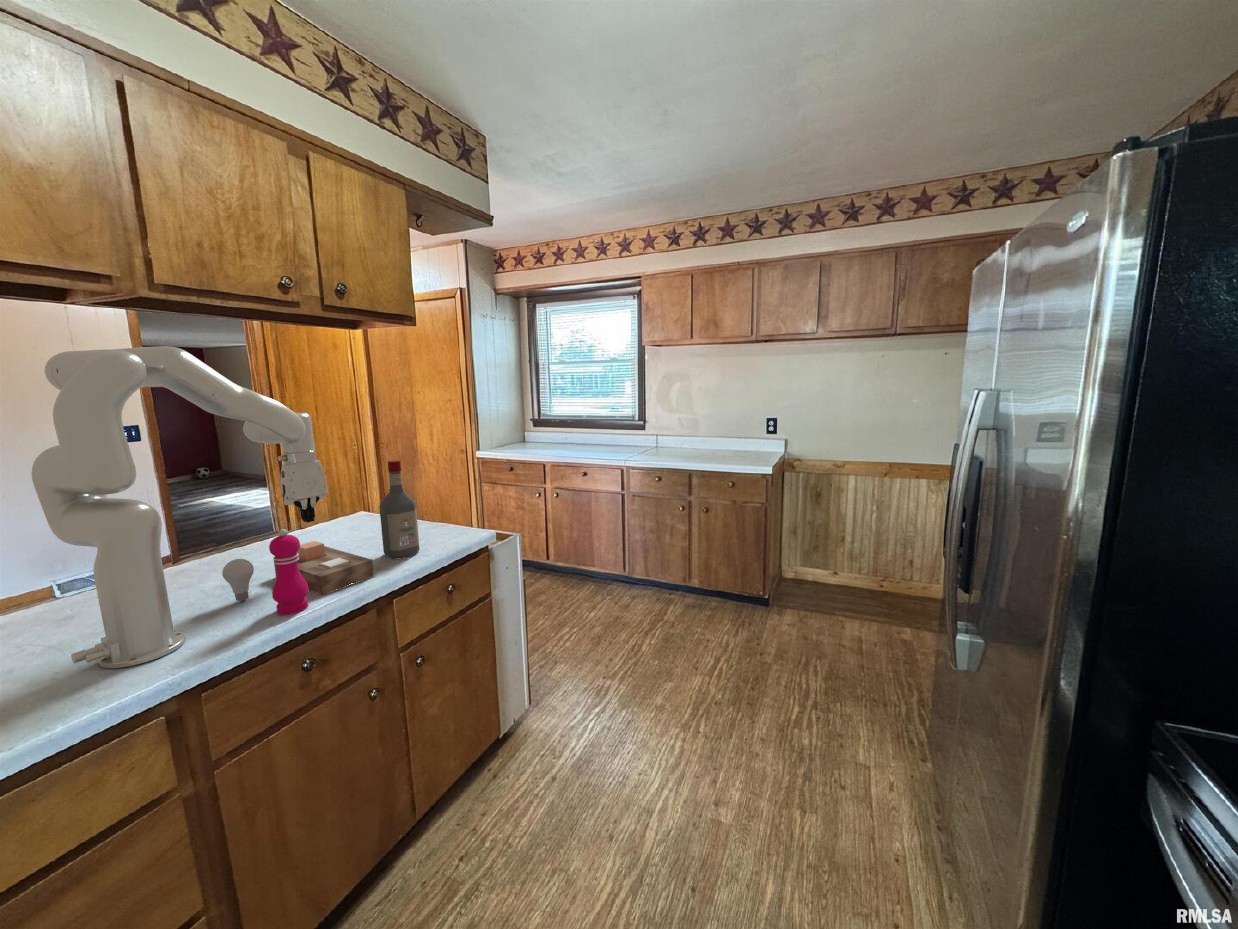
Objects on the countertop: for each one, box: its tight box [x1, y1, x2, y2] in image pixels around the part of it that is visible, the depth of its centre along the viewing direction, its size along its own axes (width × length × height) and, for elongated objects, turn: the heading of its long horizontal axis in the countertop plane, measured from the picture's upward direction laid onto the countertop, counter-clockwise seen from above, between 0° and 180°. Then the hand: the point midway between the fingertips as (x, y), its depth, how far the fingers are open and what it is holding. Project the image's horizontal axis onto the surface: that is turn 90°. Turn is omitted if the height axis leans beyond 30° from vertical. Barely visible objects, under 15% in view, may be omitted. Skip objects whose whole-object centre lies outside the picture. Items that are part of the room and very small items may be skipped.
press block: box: [273, 545, 375, 596], centre depth 135 cm, size 14×24×5 cm, turn 59°
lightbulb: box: [221, 558, 254, 603], centre depth 120 cm, size 6×6×11 cm
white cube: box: [320, 558, 349, 569], centre depth 132 cm, size 5×5×5 cm
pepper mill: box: [268, 528, 310, 616], centre depth 114 cm, size 7×7×20 cm
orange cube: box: [297, 540, 325, 561], centre depth 138 cm, size 5×5×5 cm
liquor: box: [378, 460, 421, 559], centre depth 152 cm, size 9×9×30 cm
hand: (308, 521), depth 137 cm, fingers closed
